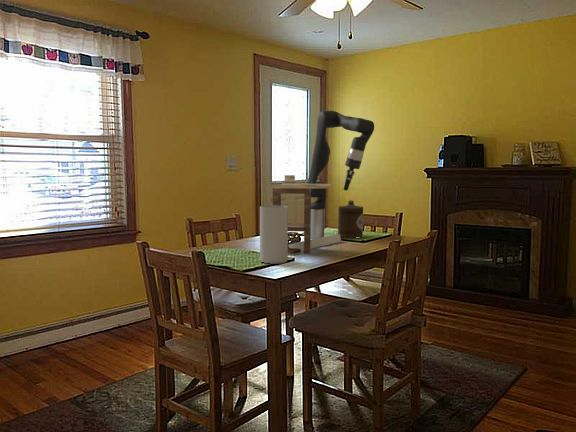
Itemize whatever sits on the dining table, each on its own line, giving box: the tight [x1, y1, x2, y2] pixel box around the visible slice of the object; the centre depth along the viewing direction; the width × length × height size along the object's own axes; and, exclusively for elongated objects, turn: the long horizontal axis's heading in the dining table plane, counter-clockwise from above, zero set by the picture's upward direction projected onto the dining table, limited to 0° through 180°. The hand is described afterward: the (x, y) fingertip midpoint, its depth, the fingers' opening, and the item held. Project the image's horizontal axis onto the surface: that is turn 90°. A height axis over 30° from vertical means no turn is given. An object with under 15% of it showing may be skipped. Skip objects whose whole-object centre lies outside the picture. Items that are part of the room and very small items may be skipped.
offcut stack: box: [282, 174, 296, 184], centre depth 262 cm, size 4×6×6 cm
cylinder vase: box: [259, 204, 289, 265], centre depth 232 cm, size 12×12×25 cm
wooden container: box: [337, 199, 364, 239], centre depth 307 cm, size 15×15×22 cm
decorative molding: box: [288, 233, 342, 251], centre depth 280 cm, size 34×5×10 cm
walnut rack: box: [272, 186, 312, 255], centre depth 260 cm, size 16×18×32 cm
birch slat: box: [280, 183, 331, 190], centre depth 254 cm, size 4×24×2 cm, turn 85°
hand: (345, 188), depth 263 cm, fingers open, 8 cm apart
